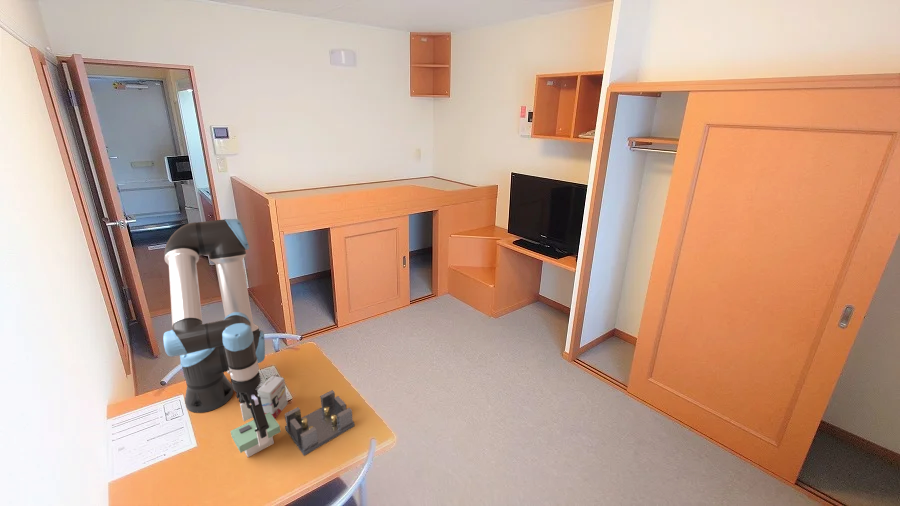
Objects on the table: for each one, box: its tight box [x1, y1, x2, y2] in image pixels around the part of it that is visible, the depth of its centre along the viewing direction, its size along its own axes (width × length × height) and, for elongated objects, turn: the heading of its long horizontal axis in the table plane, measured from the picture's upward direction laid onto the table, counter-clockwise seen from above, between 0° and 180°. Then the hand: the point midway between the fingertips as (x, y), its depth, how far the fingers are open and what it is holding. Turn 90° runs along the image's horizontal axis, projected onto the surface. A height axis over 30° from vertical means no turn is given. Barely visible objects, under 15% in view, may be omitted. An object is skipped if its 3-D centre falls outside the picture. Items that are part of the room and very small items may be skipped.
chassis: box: [284, 389, 356, 457], centre depth 134 cm, size 14×18×7 cm
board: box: [230, 412, 281, 454], centre depth 125 cm, size 8×12×3 cm, turn 134°
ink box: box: [257, 375, 288, 420], centre depth 140 cm, size 9×5×12 cm, turn 168°
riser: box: [243, 436, 275, 458], centre depth 126 cm, size 4×8×5 cm, turn 134°
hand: (255, 430), depth 125 cm, fingers open, 13 cm apart
